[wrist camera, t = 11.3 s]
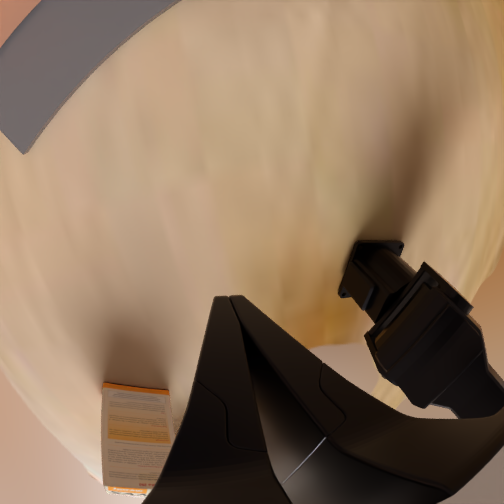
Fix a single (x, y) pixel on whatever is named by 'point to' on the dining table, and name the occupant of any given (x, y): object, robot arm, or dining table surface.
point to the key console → (61, 57)
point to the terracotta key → (13, 15)
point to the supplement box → (134, 438)
